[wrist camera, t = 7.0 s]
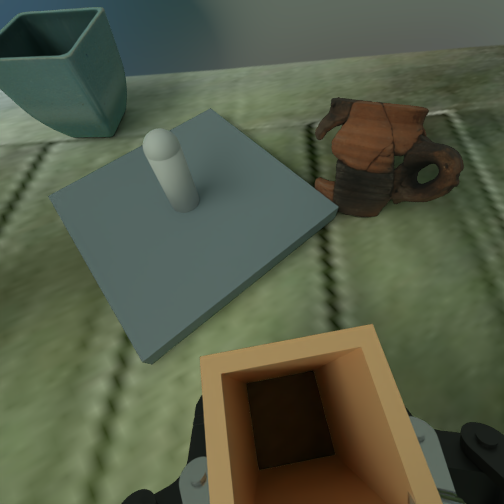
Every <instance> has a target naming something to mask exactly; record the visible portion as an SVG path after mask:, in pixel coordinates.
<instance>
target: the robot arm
mask: <svg viewBox="0 0 504 504" xmlns="http://www.w3.org/2000/svg"><path fill="white" fill-rule="evenodd" d="M405 408H406V407H405ZM406 411H407V413H408V416H409V418H410V421H411V424H412V426H413V429H414V431H415V434H416V436H417V439H418V442H419V444H420V447H421V449H422V452H423V454H424V457H425V459H426V462H427V465H428V467H429V470H430V472H431V475H432V477H433V480H434V483H435V485H436V488H437V490H438V493H439V495H440V498H441V500H442V503H443V504H465V503H466V504H504V435H503V434H501V433H500V432H499V431H497V430H495V429H494V428H492V427H490V426H487V425H485V424H481V423H476V422H470V423H466V424H464V425H463V426H462V428H461V433H456V432H448V431H440V430H435V429H433V428H432V427H431V426H430V425H429V424H427V423H426V422H425V421H423V420H421V419H419V418H416V417H413V416H412V415H411V413H410V412H409V411H408V410H407V408H406ZM464 502H465V503H464ZM122 504H210V497H209V483H208V469H207V454H206V440H205V425H204V411H203V396H201V397H200V399H199V401H198V403H197V404H196V409H195V418H194V422H193V429H192V435H191V442H190V449H189V455H188V461H187V465H186V467H185V468H184V470H183V471H182V473H181V475H180V477H179V478H178V479H177V480H176V481H175V482H174V483H172V484H171V485H170V486H168V487H166V488H164V489H163V490H161V491H159V492H157V493H156V494H153V493H152V492H151V491H150V490H147V489H142V490H138V491H136V492H134V493H132V494H131V495H130V496H128V497H127V498H126V499H125V500H124V501H123V502H122ZM408 504H415V502H414V500H413V498H412V497H411V495H410V493H409V492H408Z"/></svg>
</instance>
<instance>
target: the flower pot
mask: <svg viewBox="0 0 504 504" xmlns="http://www.w3.org/2000/svg"><path fill="white" fill-rule="evenodd" d="M0 89H1V90H2V91H3V92H4V93H5V94H7V95H8V96H9V97H10V98H11V99H12V100H13V101H14V102H15V103H16V104H18V105H19V106H20V107H21V108H22V109H23V110H25V111H26V112H27V113H28V114H30V115H31V116H32V117H34V118H35V119H37V120H38V121H40V122H41V123H43V124H45V125H47V126H49V127H50V128H52V129H54V130H56V131H59V132H61V133H63V134H66V135H68V136H71V137H74V138H76V137H111V136H113V135H114V134H115V132H116V130H117V127H118V125H119V123H120V121H121V119H122V116H123V115H124V113H125V110H126V100H127V88H126V78H125V72H124V68H123V64H122V61H121V58H120V55H119V52H118V49H117V46H116V43H115V40H114V37H113V34H112V31H111V28H110V25H109V23H108V20H107V17H106V14H105V11H104V9H103V8H102V7H98V8H97V7H94V8H80V9H65V10H51V11H38V12H24V13H19V14H18V15H16V16H15V17H14V18H13V19H12V20H11V21H10V22H9V23H8V24H7V25H6V26H5V27H4V28H3V29H2V30H1V31H0Z"/></svg>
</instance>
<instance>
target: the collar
mask: <svg viewBox="0 0 504 504" xmlns="http://www.w3.org/2000/svg"><path fill="white" fill-rule="evenodd" d="M200 367H201V382H202V396H203V411H204V425H205V440H206V454H207V469H208V483H209V497H210V504H408V492H409V493H410V495H411V497H412V498H413V500H414V502H415V504H443V503H442V500H441V498H440V495H439V493H438V490H437V488H436V485H435V483H434V480H433V477H432V475H431V472H430V470H429V467H428V465H427V462H426V459H425V457H424V454H423V452H422V449H421V447H420V444H419V442H418V439H417V436H416V434H415V431H414V429H413V426H412V424H411V421H410V418H409V416H408V413H407V411H406V408H405V406H404V403H403V401H402V398H401V395H400V393H399V390H398V388H397V385H396V383H395V380H394V377H393V375H392V372H391V370H390V367H389V365H388V362H387V360H386V357H385V354H384V352H383V349H382V347H381V344H380V342H379V339H378V336H377V334H376V331H375V329H374V326H373V324H369V325H364V326H359V327H353V328H348V329H343V330H338V331H332V332H327V333H322V334H316V335H311V336H306V337H301V338H295V339H290V340H285V341H280V342H274V343H269V344H264V345H258V346H253V347H248V348H243V349H237V350H232V351H227V352H221V353H216V354H211V355H206V356H200ZM309 371H314V374H315V378H316V382H317V386H318V390H319V394H320V397H321V401H322V405H323V409H324V413H325V417H326V421H327V424H328V428H329V432H330V436H331V440H332V444H333V448H334V451H335V455H331V456H326V457H321V458H316V459H311V460H306V461H301V462H296V463H292V464H287V465H282V466H277V467H272V468H267V469H262V470H259V468H258V461H257V454H256V447H255V440H254V433H253V426H252V419H251V412H250V405H249V398H248V391H247V383H252V382H257V381H262V380H268V379H273V378H278V377H283V376H288V375H293V374H299V373H304V372H309Z"/></svg>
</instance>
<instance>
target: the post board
mask: <svg viewBox="0 0 504 504" xmlns="http://www.w3.org/2000/svg"><path fill="white" fill-rule="evenodd" d="M48 197H49V199H50V200H51V202H52V204H53V206H54V207H55V209H56V211H57V213H58V214H59V216H60V218H61V220H62V221H63V223H64V225H65V227H66V229H67V230H68V232H69V234H70V236H71V237H72V239H73V241H74V243H75V244H76V246H77V248H78V250H79V251H80V253H81V255H82V257H83V258H84V260H85V262H86V264H87V266H88V267H89V269H90V271H91V273H92V274H93V276H94V278H95V280H96V281H97V283H98V285H99V287H100V288H101V290H102V292H103V294H104V295H105V297H106V299H107V301H108V303H109V304H110V306H111V308H112V310H113V311H114V313H115V315H116V317H117V318H118V320H119V322H120V324H121V325H122V327H123V329H124V331H125V332H126V334H127V336H128V338H129V340H130V341H131V343H132V345H133V347H134V348H135V350H136V352H137V354H138V355H139V357H140V359H141V361H142V362H144V363H148V364H153V363H154V362H155V361H157V360H158V359H159V358H160V357H162V356H163V355H164V354H165V353H167V352H168V351H169V350H170V349H172V348H173V347H174V346H175V345H177V344H178V343H179V342H180V341H182V340H183V339H184V338H185V337H187V336H188V335H189V334H190V333H192V332H193V331H194V330H195V329H197V328H198V327H199V326H200V325H202V324H203V323H204V322H205V321H207V320H208V319H209V318H210V317H212V316H213V315H214V314H215V313H217V312H218V311H219V310H220V309H222V308H223V307H224V306H225V305H227V304H228V303H229V302H230V301H232V300H233V299H234V298H235V297H237V296H238V295H239V294H240V293H242V292H243V291H244V290H245V289H247V288H248V287H249V286H250V285H252V284H253V283H254V282H255V281H257V280H258V279H259V278H260V277H262V276H263V275H264V274H265V273H267V272H268V271H269V270H270V269H272V268H273V267H274V266H275V265H277V264H278V263H279V262H280V261H282V260H283V259H284V258H285V257H287V256H288V255H289V254H290V253H292V252H293V251H294V250H295V249H297V248H298V247H299V246H300V245H302V244H303V243H304V242H305V241H307V240H308V239H309V238H310V237H312V236H313V235H314V234H315V233H317V232H318V231H319V230H320V229H322V228H323V227H324V226H325V225H327V224H328V223H329V222H330V221H331V220H333V219H334V218H335V216H336V213H337V210H338V208H339V207H338V206H337V205H336V204H334V203H333V202H332V201H330V200H329V199H328V198H326V197H325V196H324V195H323V194H321V193H320V192H319V191H317V190H316V189H315V188H313V187H312V186H311V185H310V184H308V183H307V182H306V181H304V180H303V179H302V178H300V177H299V176H298V175H297V174H295V173H294V172H293V171H291V170H290V169H289V168H287V167H286V166H285V165H284V164H282V163H281V162H280V161H278V160H277V159H276V158H274V157H273V156H272V155H271V154H269V153H268V152H267V151H265V150H264V149H263V148H261V147H260V146H259V145H258V144H256V143H255V142H254V141H252V140H251V139H250V138H248V137H247V136H246V135H245V134H243V133H242V132H241V131H239V130H238V129H237V128H235V127H234V126H233V125H232V124H230V123H229V122H228V121H226V120H225V119H224V118H222V117H221V116H220V115H219V114H217V113H216V112H215V111H213V110H212V109H211V108H210V109H208V110H207V111H205V112H203V113H201V114H199V115H197V116H195V117H194V118H192V119H190V120H188V121H186V122H184V123H182V124H181V125H179V126H177V127H175V128H173V129H171V130H170V131H169V130H166V129H162V128H157V129H153V130H151V131H150V132H148V133H147V134H146V136H145V138H144V140H143V145H142V146H140V147H138V148H136V149H134V150H133V151H131V152H129V153H127V154H125V155H123V156H122V157H120V158H118V159H116V160H114V161H112V162H110V163H109V164H107V165H105V166H103V167H101V168H99V169H98V170H96V171H94V172H92V173H90V174H88V175H86V176H85V177H83V178H81V179H79V180H77V181H75V182H74V183H72V184H70V185H68V186H66V187H64V188H62V189H61V190H59V191H57V192H55V193H53V194H51V195H49V196H48Z"/></svg>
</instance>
